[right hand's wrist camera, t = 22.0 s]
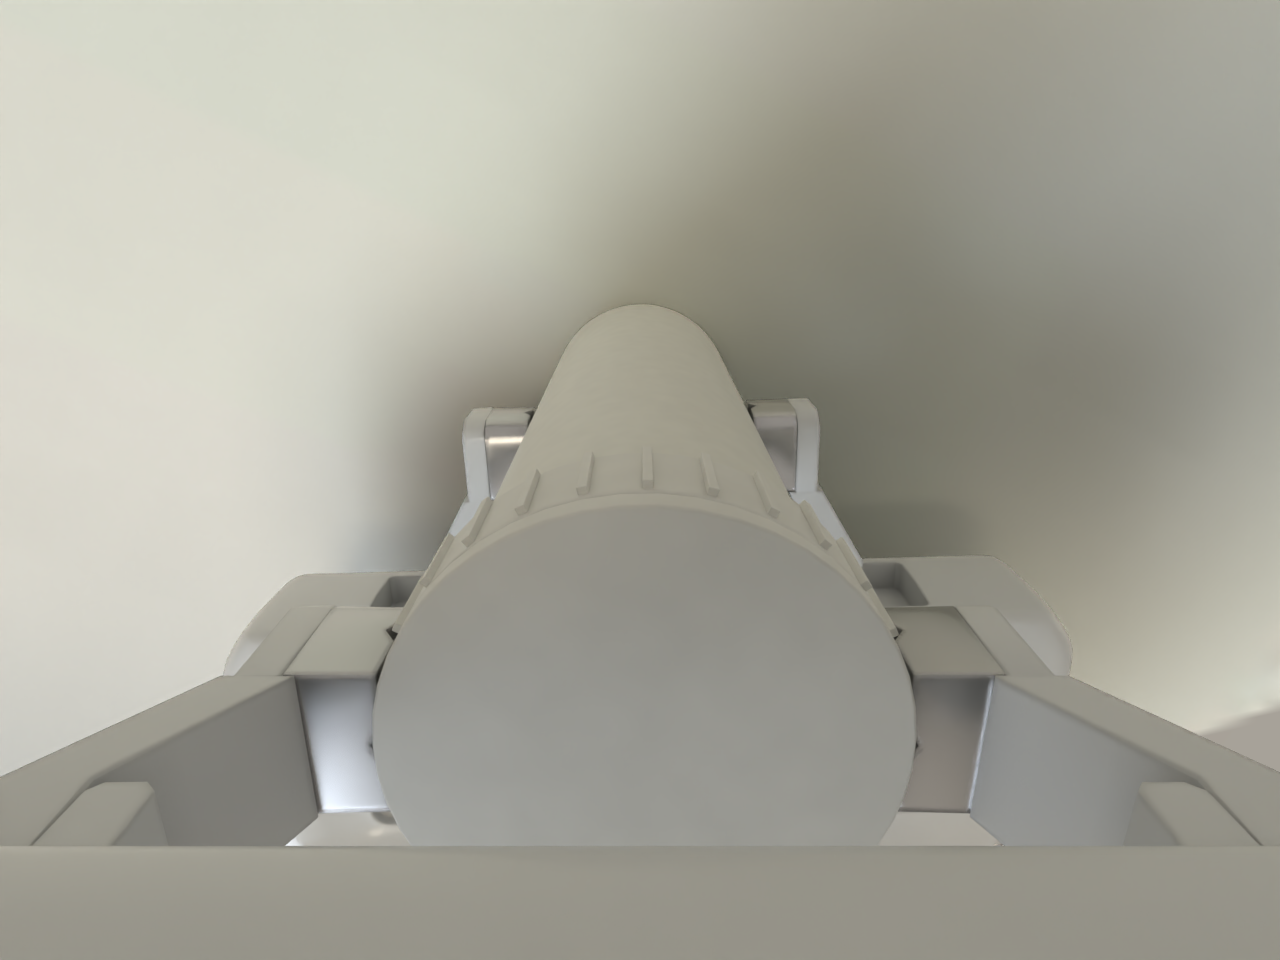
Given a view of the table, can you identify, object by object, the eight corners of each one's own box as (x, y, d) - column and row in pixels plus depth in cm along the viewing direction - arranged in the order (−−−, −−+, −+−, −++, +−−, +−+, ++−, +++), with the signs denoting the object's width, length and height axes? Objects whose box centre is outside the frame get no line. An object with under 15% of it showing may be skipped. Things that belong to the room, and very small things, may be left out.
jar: (568, 289, 22) (438, 469, 8) (743, 320, 23) (926, 550, 8) (544, 456, 24) (401, 856, 10) (707, 483, 24) (806, 910, 10)
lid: (705, 913, 11) (715, 1027, 10) (328, 727, 10) (273, 823, 9) (978, 606, 9) (1044, 687, 8) (561, 345, 8) (544, 379, 7)
